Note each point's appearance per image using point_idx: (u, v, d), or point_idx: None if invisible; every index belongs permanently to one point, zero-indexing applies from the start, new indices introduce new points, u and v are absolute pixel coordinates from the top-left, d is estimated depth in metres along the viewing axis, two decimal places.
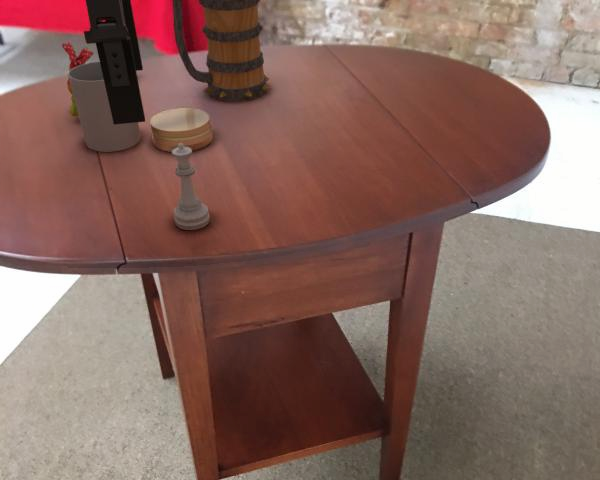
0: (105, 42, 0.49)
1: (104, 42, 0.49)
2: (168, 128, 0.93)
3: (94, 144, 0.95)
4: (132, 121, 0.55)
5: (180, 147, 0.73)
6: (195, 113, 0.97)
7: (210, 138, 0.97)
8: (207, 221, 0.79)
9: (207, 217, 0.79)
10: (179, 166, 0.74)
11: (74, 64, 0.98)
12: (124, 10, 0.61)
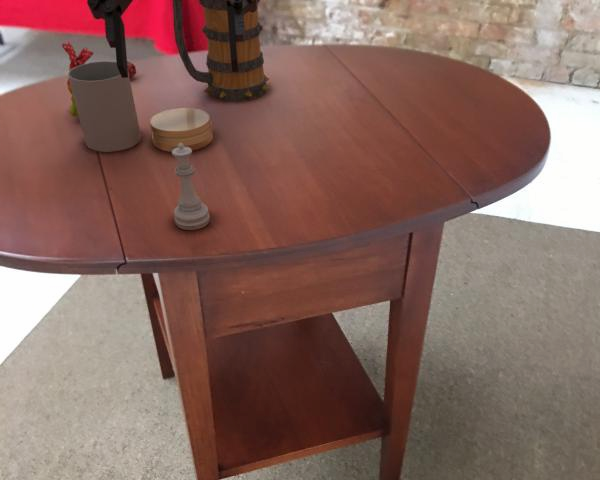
0: (245, 7, 0.77)
1: (245, 7, 0.77)
2: (168, 128, 0.93)
3: (94, 144, 0.95)
4: (237, 66, 0.78)
5: (180, 147, 0.73)
6: (195, 113, 0.97)
7: (210, 138, 0.97)
8: (207, 221, 0.79)
9: (207, 217, 0.79)
10: (179, 166, 0.74)
11: (74, 64, 0.98)
12: (123, 30, 0.77)
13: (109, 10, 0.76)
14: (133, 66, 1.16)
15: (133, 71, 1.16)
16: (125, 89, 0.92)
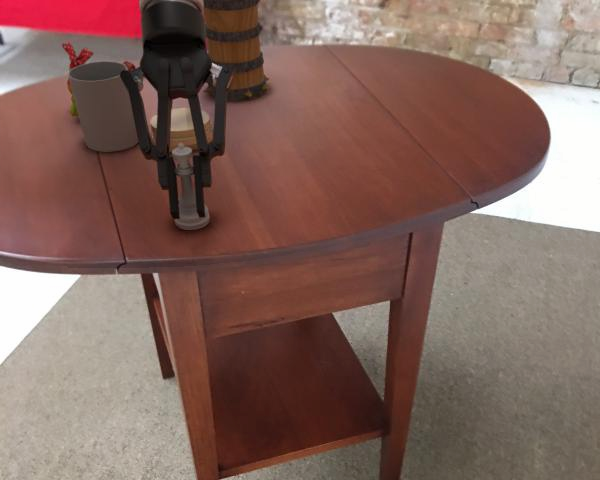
0: (211, 154, 0.75)
1: (211, 154, 0.75)
2: None
3: (94, 144, 0.95)
4: (204, 213, 0.75)
5: (180, 147, 0.73)
6: None
7: (210, 138, 0.97)
8: (207, 221, 0.79)
9: (207, 217, 0.79)
10: (179, 166, 0.74)
11: (74, 64, 0.98)
12: None
13: (164, 153, 0.74)
14: (133, 66, 1.16)
15: None
16: (125, 89, 0.92)
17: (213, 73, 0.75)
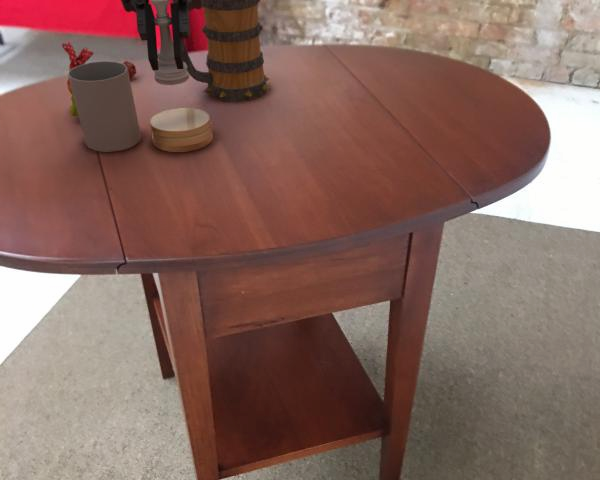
0: (189, 4, 0.77)
1: (189, 4, 0.77)
2: (168, 128, 0.93)
3: (94, 144, 0.95)
4: (182, 63, 0.77)
5: None
6: (195, 113, 0.97)
7: (210, 138, 0.97)
8: (186, 77, 0.81)
9: (186, 74, 0.81)
10: (157, 15, 0.76)
11: (74, 64, 0.98)
12: None
13: (142, 1, 0.76)
14: (133, 66, 1.16)
15: (133, 71, 1.16)
16: (125, 89, 0.92)
17: None
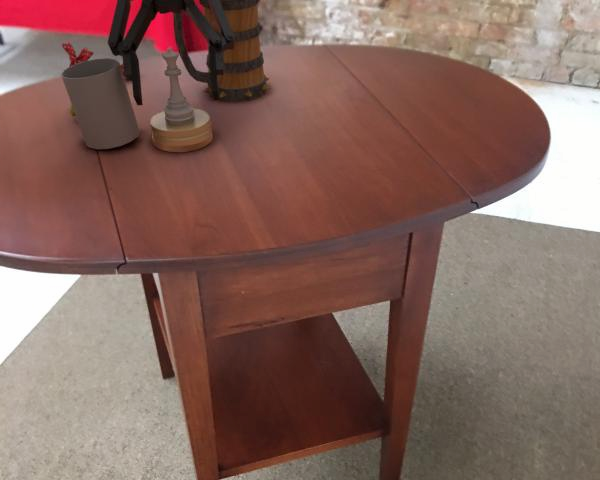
0: (224, 46, 0.90)
1: (224, 46, 0.90)
2: (168, 128, 0.93)
3: (93, 142, 0.95)
4: (218, 96, 0.91)
5: (169, 50, 0.89)
6: (195, 113, 0.97)
7: (210, 138, 0.97)
8: (192, 118, 0.95)
9: (192, 115, 0.95)
10: (168, 67, 0.90)
11: (74, 64, 0.98)
12: (138, 65, 0.91)
13: (127, 48, 0.89)
14: None
15: None
16: (119, 83, 0.91)
17: None
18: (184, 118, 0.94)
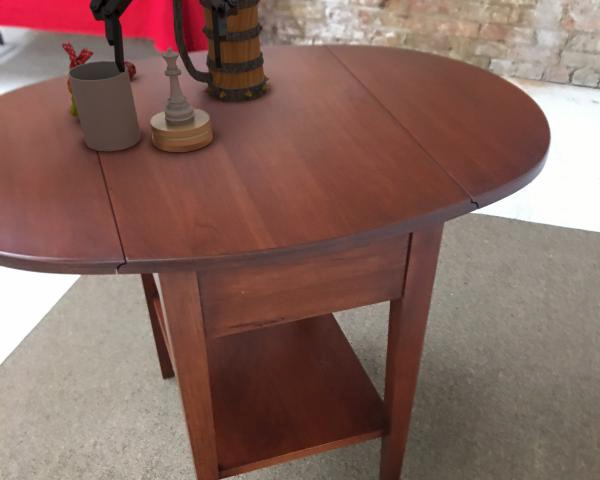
0: (227, 12, 0.88)
1: (227, 11, 0.88)
2: (168, 128, 0.93)
3: (95, 144, 0.95)
4: None
5: (169, 50, 0.89)
6: (195, 113, 0.97)
7: (210, 138, 0.97)
8: (192, 118, 0.95)
9: (192, 115, 0.95)
10: (168, 67, 0.90)
11: (74, 64, 0.98)
12: (120, 30, 0.88)
13: (108, 13, 0.86)
14: (133, 66, 1.16)
15: (133, 71, 1.16)
16: (126, 88, 0.92)
17: None
18: (184, 118, 0.94)
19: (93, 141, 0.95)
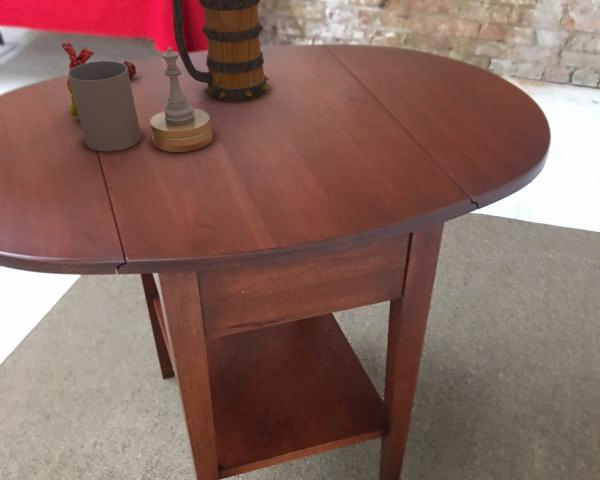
0: None
1: None
2: (168, 128, 0.93)
3: (95, 144, 0.95)
4: None
5: (169, 50, 0.89)
6: (195, 113, 0.97)
7: (210, 138, 0.97)
8: (192, 118, 0.95)
9: (192, 115, 0.95)
10: (168, 67, 0.90)
11: (74, 64, 0.98)
12: None
13: None
14: (133, 66, 1.16)
15: (133, 71, 1.16)
16: (126, 88, 0.92)
17: None
18: (184, 118, 0.94)
19: (93, 141, 0.95)
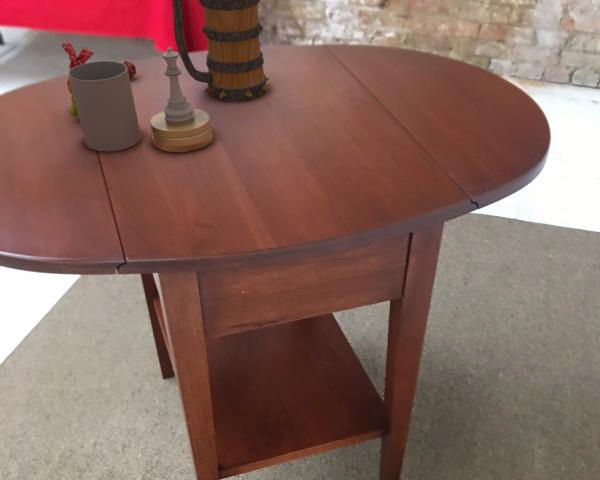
0: None
1: None
2: (168, 128, 0.93)
3: (95, 144, 0.95)
4: None
5: (169, 50, 0.89)
6: (195, 113, 0.97)
7: (210, 138, 0.97)
8: (192, 118, 0.95)
9: (192, 115, 0.95)
10: (168, 67, 0.90)
11: (74, 64, 0.98)
12: None
13: None
14: (133, 66, 1.16)
15: (133, 71, 1.16)
16: (126, 88, 0.92)
17: None
18: (184, 118, 0.94)
19: (93, 141, 0.95)
